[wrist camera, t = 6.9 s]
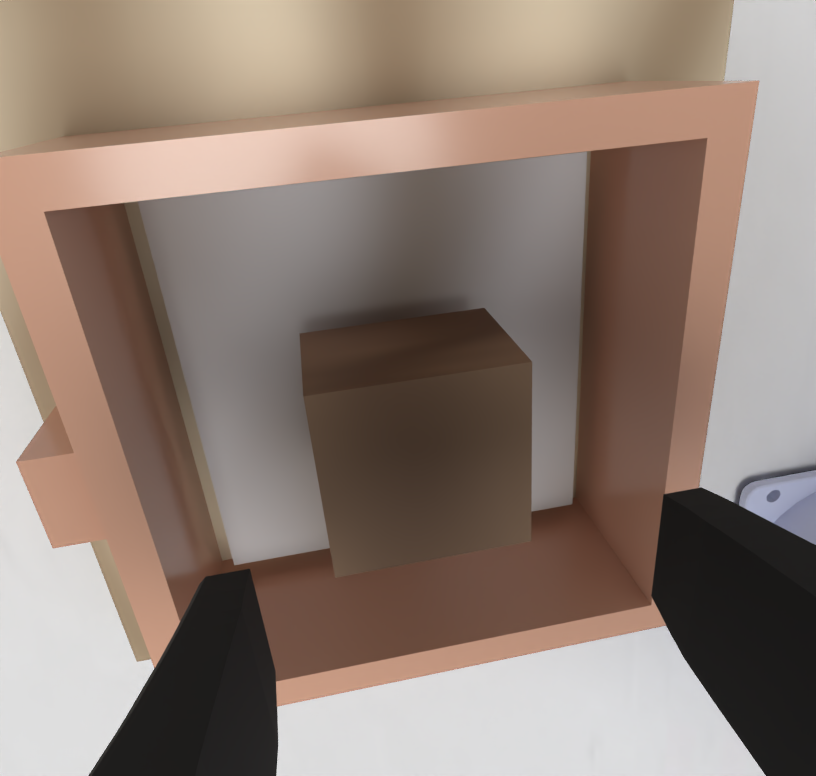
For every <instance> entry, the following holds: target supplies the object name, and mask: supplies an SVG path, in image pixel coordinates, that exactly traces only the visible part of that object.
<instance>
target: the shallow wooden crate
mask: <svg viewBox="0 0 816 776" xmlns="http://www.w3.org/2000/svg"><path fill="white" fill-rule="evenodd" d="M758 85H759V81H622V82H612V83H602V84H592V85H581V86H571V87H561V88H551V89H541V90H530V91H520V92H510V93H500V94H490V95H479V96H469V97H459V98H449V99H439V100H428V101H418V102H408V103H398V104H388V105H377V106H367V107H357V108H347V109H337V110H326V111H316V112H306V113H296V114H285V115H275V116H265V117H255V118H245V119H234V120H224V121H214V122H204V123H194V124H183V125H173V126H163V127H153V128H143V129H132V130H122V131H112V132H102V133H92V134H81V135H71V136H62V137H58V138H54V139H50V140H46V141H42V142H38V143H34V144H30V145H26V146H22V147H18V148H14V149H10V150H6V151H2V152H0V256H1V259H2V262H3V264H4V267H5V270H6V272H7V275H8V278H9V280H10V283H11V286H12V288H13V291H14V294H15V296H16V299H17V302H18V304H19V307H20V310H21V312H22V315H23V318H24V320H25V323H26V326H27V328H28V331H29V334H30V336H31V339H32V342H33V345H34V347H35V350H36V353H37V355H38V358H39V361H40V363H41V366H42V369H43V371H44V374H45V377H46V379H47V382H48V385H49V387H50V390H51V393H52V395H53V398H54V401H55V403H56V406H55V408H54V409H53V410H52V412H51V413H50V415H49V416H48V418H47V419H46V420H45V422H44V423H43V425H42V426H41V427H40V429H39V430H38V432H37V433H36V435H35V436H34V437H33V439H32V440H31V442H30V443H29V444H28V446H27V447H26V449H25V450H24V452H23V453H22V454H21V456H20V457H19V459H18V460H17V461H16V463H17V465H18V468H19V470H20V472H21V475H22V477H23V479H24V482H25V484H26V486H27V489H28V491H29V493H30V496H31V498H32V500H33V503H34V505H35V508H36V510H37V512H38V515H39V517H40V519H41V522H42V524H43V526H44V529H45V531H46V533H47V536H48V538H49V540H50V543H51V545H52V548H58V547H64V546H69V545H75V544H81V543H87V542H93V541H98V540H104V539H106V540H107V542H108V545H109V548H110V550H111V553H112V556H113V558H114V561H115V564H116V566H117V569H118V572H119V574H120V577H121V580H122V583H123V585H124V588H125V591H126V593H127V596H128V599H129V601H130V604H131V607H132V609H133V612H134V615H135V617H136V620H137V623H138V625H139V628H140V631H141V633H142V636H143V639H144V641H145V644H146V647H147V649H148V652H149V655H150V657H151V660H152V663H153V665H154V668H155V667H156V665H157V663H158V662H159V660H160V658H161V656H162V654H163V653H164V651H165V649H166V647H167V645H168V643H169V642H170V640H171V638H172V636H173V634H174V632H175V631H176V629H177V627H178V625H179V623H180V621H181V619H182V617H183V615H184V613H185V611H186V609H187V608H188V606H189V604H190V602H191V600H192V598H193V596H194V594H195V592H196V590H197V588H198V586H199V584H200V583H201V582H202V580H203V579H204V578H205V577H206V576H212V575H217V574H223V573H228V572H234V571H239V570H245V569H250V571H251V575H252V579H253V583H254V587H255V591H256V595H257V599H258V603H259V607H260V611H261V615H262V619H263V623H264V627H265V631H266V635H267V639H268V643H269V647H270V651H271V655H272V659H273V663H274V667H275V671H276V695H277V706H282V705H286V704H291V703H296V702H301V701H306V700H310V699H315V698H320V697H325V696H330V695H334V694H339V693H344V692H349V691H354V690H358V689H363V688H368V687H373V686H378V685H382V684H387V683H392V682H397V681H402V680H406V679H411V678H416V677H421V676H426V675H430V674H435V673H440V672H445V671H450V670H455V669H459V668H464V667H469V666H474V665H479V664H483V663H488V662H493V661H498V660H503V659H507V658H512V657H517V656H522V655H527V654H531V653H536V652H541V651H546V650H551V649H555V648H560V647H565V646H570V645H575V644H579V643H584V642H589V641H594V640H599V639H603V638H608V637H613V636H618V635H623V634H627V633H632V632H637V631H642V630H647V629H651V628H656V627H661V626H666V624H665V622H664V620H663V618H662V616H661V614H660V612H659V610H658V608H657V606H656V604H655V602H654V600H653V598H652V596H651V594H652V585H653V577H654V569H655V560H656V552H657V544H658V536H659V527H660V519H661V511H662V502H663V494H667V493H673V492H679V491H684V490H690V489H695V488H699V482H700V475H701V469H702V462H703V455H704V448H705V442H706V435H707V428H708V422H709V415H710V408H711V401H712V395H713V388H714V381H715V374H716V368H717V361H718V354H719V347H720V341H721V334H722V327H723V321H724V314H725V307H726V300H727V294H728V287H729V280H730V273H731V267H732V260H733V253H734V247H735V240H736V233H737V226H738V220H739V213H740V206H741V199H742V193H743V186H744V179H745V173H746V166H747V159H748V152H749V146H750V139H751V132H752V125H753V119H754V112H755V105H756V99H757V92H758ZM585 151H591V160H590V182H589V205H588V228H587V251H586V273H585V296H584V319H583V342H582V365H581V387H580V410H579V433H578V456H577V479H576V497H575V498H573V504H571V505H566V506H560V507H555V508H549V509H543V510H538V511H532V512H531V541H530V542H525V543H519V544H514V545H508V546H503V547H498V548H492V549H487V550H482V551H476V552H471V553H465V554H460V555H455V556H449V557H444V558H439V559H433V560H428V561H422V562H417V563H412V564H406V565H401V566H396V567H390V568H385V569H380V570H374V571H369V572H363V573H358V574H353V575H347V576H342V577H337V578H335V574H334V569H333V563H332V557H331V552H330V548H327V549H322V550H316V551H311V552H305V553H300V554H294V555H288V556H283V557H277V558H272V559H266V560H261V561H255V562H250V563H244V564H239V565H234V562H233V559H229V560H223V561H222V558H221V554H220V550H219V547H218V543H217V540H216V536H215V532H214V529H213V525H212V521H211V518H210V514H209V511H208V507H207V503H206V500H205V496H204V492H203V489H202V485H201V481H200V478H199V474H198V471H197V467H196V463H195V460H194V456H193V452H192V449H191V445H190V442H189V438H188V434H187V431H186V427H185V423H184V420H183V416H182V413H181V409H180V405H179V402H178V398H177V394H176V391H175V387H174V383H173V380H172V376H171V373H170V369H169V365H168V362H167V358H166V354H165V351H164V347H163V344H162V340H161V336H160V333H159V329H158V325H157V322H156V318H155V315H154V311H153V307H152V304H151V300H150V296H149V293H148V289H147V285H146V282H145V278H144V275H143V271H142V267H141V264H140V260H139V256H138V253H137V249H136V246H135V242H134V238H133V235H132V231H131V227H130V224H129V220H128V217H127V213H126V209H125V206H124V203H126V202H135V201H144V200H153V199H162V198H171V197H180V196H189V195H198V194H207V193H216V192H225V191H234V190H243V189H252V188H261V187H270V186H279V185H288V184H297V183H306V182H315V181H324V180H333V179H342V178H351V177H360V176H369V175H378V174H387V173H396V172H405V171H414V170H423V169H432V168H441V167H450V166H459V165H468V164H477V163H486V162H495V161H504V160H513V159H522V158H531V157H540V156H549V155H558V154H567V153H576V152H585Z"/></svg>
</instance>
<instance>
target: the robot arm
mask: <svg viewBox="0 0 816 776" xmlns="http://www.w3.org/2000/svg"><path fill="white" fill-rule="evenodd" d="M651 596H652V598H653V600H654V602H655V604H656V606H657V608H658V610H659V612H660V614H661V616H662V618H663V620H664V622H665V624H666V626H667V628H668V630H669V631H670V633H671V635H672V637H673V639H674V641H675V642H676V644H677V646H678V648H679V650H680V651H681V653H682V655H683V657H684V659H685V660H686V661H687V663H688V664H689V666H690V667H691V669H692V670H693V672H694V673H695V675H696V676H697V678H698V679H699V681H700V682H701V684H702V685H703V686H704V688H705V689H706V691H707V692H708V694H709V695H710V697H711V698H712V699H713V701H714V702H715V704H716V705H717V707H718V708H719V710H720V711H721V712H722V714H723V715H724V717H725V718H726V720H727V721H728V722H729V724H730V725H731V727H732V728H733V729H734V731H735V732H736V734H737V735H738V737H739V738H740V739H741V741H742V742H743V744H744V745H745V747H746V748H747V749H748V751H749V752H750V754H751V755H752V756H753V758H754V759H755V761H756V762H757V764H758V765H759V766H760V768H761V769H762V771H763V772H764V774H765V775H766V776H816V470H814V471H808V472H803V473H797V474H792V475H786V476H781V477H775V478H770V479H764V480H759V481H755V482H752V483H750V484H748V485H747V486H745V488H744V489H743V490H742V493H741V496H740V501H739V505H737V504H735V503H733V502H731V501H729V500H727V499H725V498H723V497H721V496H719V495H717V494H714V493H712V492H710V491H708V490H706V489H703V488H695V489H690V490H684V491H679V492H673V493H667V494H663V502H662V511H661V519H660V527H659V536H658V544H657V552H656V560H655V569H654V577H653V585H652V594H651ZM277 753H278V725H277V695H276V671H275V667H274V663H273V659H272V655H271V651H270V647H269V643H268V639H267V635H266V631H265V627H264V623H263V619H262V615H261V611H260V607H259V603H258V599H257V595H256V591H255V587H254V583H253V579H252V575H251V571H250V569H245V570H239V571H234V572H228V573H223V574H217V575H212V576H206V577H205V578H204V579H203V580H202V582H201V583H200V584H199V586H198V588H197V590H196V592H195V594H194V596H193V598H192V600H191V602H190V604H189V606H188V608H187V609H186V611H185V613H184V615H183V617H182V619H181V621H180V623H179V625H178V627H177V629H176V631H175V632H174V634H173V636H172V638H171V640H170V642H169V643H168V645H167V647H166V649H165V651H164V653H163V654H162V656H161V658H160V660H159V662H158V663H157V665H156V667H155V669H154V670H153V672H152V674H151V675H150V677H149V679H148V681H147V682H146V684H145V686H144V687H143V689H142V691H141V692H140V694H139V696H138V698H137V699H136V701H135V703H134V704H133V706H132V708H131V710H130V711H129V713H128V715H127V716H126V718H125V720H124V721H123V723H122V725H121V726H120V728H119V729H118V731H117V733H116V734H115V736H114V737H113V739H112V740H111V742H110V743H109V745H108V746H107V748H106V750H105V751H104V753H103V754H102V756H101V757H100V759H99V760H98V762H97V763H96V765H95V767H94V768H93V770H92V771H91V773H90V774H89V776H276V769H277Z"/></svg>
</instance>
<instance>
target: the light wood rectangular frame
mask: <svg viewBox="0 0 816 776" xmlns="http://www.w3.org/2000/svg"><path fill="white" fill-rule="evenodd" d="M733 4H734V0H0V152H2V151H6V150H10V149H14V148H18V147H22V146H26V145H30V144H34V143H38V142H42V141H46V140H50V139H54V138H58V137H62V136H71V135H81V134H92V133H102V132H112V131H122V130H132V129H143V128H153V127H163V126H173V125H183V124H194V123H204V122H214V121H224V120H234V119H245V118H255V117H265V116H275V115H285V114H296V113H306V112H316V111H326V110H337V109H347V108H357V107H367V106H377V105H388V104H398V103H408V102H418V101H428V100H439V99H449V98H459V97H469V96H479V95H490V94H500V93H510V92H520V91H530V90H541V89H551V88H561V87H571V86H581V85H592V84H602V83H612V82H622V81H724V76H725V68H726V60H727V52H728V44H729V36H730V28H731V20H732V12H733ZM586 152H587V167H586V191H585V215H584V239H583V263H582V287H581V311H580V336H579V360H578V384H577V408H576V432H575V456H574V480H573V498H575V497H576V479H577V456H578V433H579V410H580V387H581V365H582V342H583V319H584V296H585V273H586V251H587V228H588V205H589V182H590V160H591V151H586ZM124 206H125V209H126V213H127V217H128V220H129V224H130V227H131V231H132V235H133V238H134V242H135V246H136V249H137V253H138V256H139V260H140V264H141V267H142V271H143V275H144V278H145V282H146V285H147V289H148V293H149V296H150V300H151V304H152V307H153V311H154V315H155V318H156V322H157V325H158V329H159V333H160V336H161V340H162V344H163V347H164V351H165V354H166V358H167V362H168V365H169V369H170V373H171V376H172V380H173V383H174V387H175V391H176V394H177V398H178V402H179V405H180V409H181V413H182V416H183V420H184V423H185V427H186V431H187V434H188V438H189V442H190V445H191V449H192V452H193V456H194V460H195V463H196V467H197V471H198V474H199V478H200V481H201V485H202V489H203V492H204V496H205V500H206V503H207V507H208V511H209V514H210V518H211V521H212V525H213V529H214V532H215V536H216V540H217V543H218V547H219V550H220V554H221V558H222V561H223V560H229V559H233V558H232V555H231V551H230V547H229V543H228V540H227V536H226V532H225V528H224V525H223V521H222V517H221V513H220V509H219V506H218V502H217V498H216V494H215V491H214V487H213V483H212V479H211V476H210V472H209V468H208V464H207V461H206V457H205V453H204V449H203V446H202V442H201V438H200V434H199V430H198V427H197V423H196V419H195V415H194V412H193V408H192V404H191V400H190V397H189V393H188V389H187V385H186V382H185V378H184V374H183V370H182V366H181V363H180V359H179V355H178V351H177V348H176V344H175V340H174V336H173V333H172V329H171V325H170V321H169V318H168V314H167V310H166V306H165V303H164V299H163V295H162V291H161V287H160V284H159V280H158V276H157V272H156V269H155V265H154V261H153V257H152V254H151V250H150V246H149V242H148V239H147V235H146V231H145V227H144V223H143V220H142V216H141V212H140V208H139V205H138V201H135V202H126V203H124ZM0 311H1V314H2V316H3V319H4V321H5V324H6V326H7V329H8V332H9V334H10V337H11V339H12V342H13V344H14V347H15V350H16V352H17V355H18V357H19V360H20V362H21V365H22V368H23V370H24V373H25V375H26V378H27V380H28V383H29V386H30V388H31V391H32V393H33V396H34V398H35V401H36V404H37V406H38V409H39V411H40V414H41V416H42V419H43V422H45V420H46V419H47V418H48V416H49V415H50V413H51V412H52V410H53V409H54V408H55V406H56V403H55V401H54V398H53V395H52V393H51V390H50V387H49V385H48V382H47V379H46V377H45V374H44V371H43V369H42V366H41V363H40V361H39V358H38V355H37V353H36V350H35V347H34V345H33V342H32V339H31V336H30V334H29V331H28V328H27V326H26V323H25V320H24V318H23V315H22V312H21V310H20V307H19V304H18V302H17V299H16V296H15V294H14V291H13V288H12V286H11V283H10V280H9V278H8V275H7V272H6V270H5V267H4V264H3V262H2V259H1V256H0ZM91 545H92V547H93V550H94V553H95V555H96V558H97V560H98V563H99V565H100V568H101V571H102V573H103V576H104V578H105V581H106V583H107V586H108V589H109V591H110V594H111V596H112V599H113V601H114V604H115V607H116V609H117V612H118V614H119V617H120V619H121V622H122V625H123V627H124V630H125V632H126V635H127V637H128V640H129V643H130V645H131V648H132V650H133V653H134V655H135V658H136V661H137V662H138V661H143V660H148V659H151V657H150V655H149V652H148V649H147V647H146V644H145V641H144V639H143V636H142V633H141V631H140V628H139V625H138V623H137V620H136V617H135V615H134V612H133V609H132V607H131V604H130V601H129V599H128V596H127V593H126V591H125V588H124V585H123V583H122V580H121V577H120V574H119V572H118V569H117V566H116V564H115V561H114V558H113V556H112V553H111V550H110V548H109V545H108V542H107V540H106V539H104V540H98V541H93V542H91Z"/></svg>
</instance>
